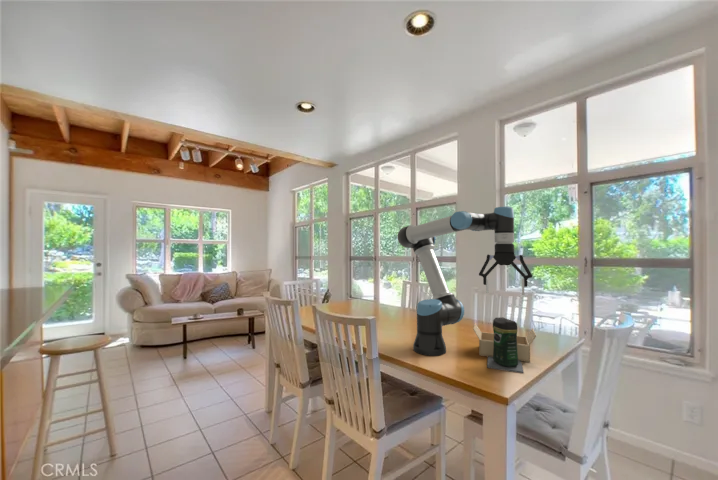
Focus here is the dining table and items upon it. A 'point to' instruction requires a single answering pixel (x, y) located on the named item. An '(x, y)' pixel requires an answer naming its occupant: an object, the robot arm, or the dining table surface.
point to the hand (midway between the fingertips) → (504, 293)
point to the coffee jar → (505, 342)
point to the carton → (488, 344)
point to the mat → (495, 365)
